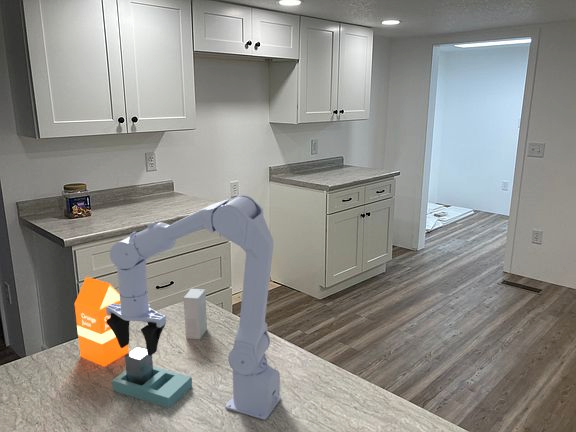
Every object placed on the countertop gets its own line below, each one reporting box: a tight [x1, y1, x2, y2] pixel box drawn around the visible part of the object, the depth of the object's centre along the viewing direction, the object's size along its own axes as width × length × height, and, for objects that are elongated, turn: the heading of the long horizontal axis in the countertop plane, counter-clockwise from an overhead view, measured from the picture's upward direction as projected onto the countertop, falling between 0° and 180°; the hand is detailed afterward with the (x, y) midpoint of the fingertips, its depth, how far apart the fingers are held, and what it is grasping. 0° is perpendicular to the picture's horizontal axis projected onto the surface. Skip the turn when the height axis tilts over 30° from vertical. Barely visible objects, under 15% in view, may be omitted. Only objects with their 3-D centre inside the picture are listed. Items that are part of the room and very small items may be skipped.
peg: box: [124, 346, 154, 386], centre depth 104 cm, size 4×4×8 cm
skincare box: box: [183, 288, 208, 340], centre depth 126 cm, size 6×4×12 cm
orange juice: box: [74, 276, 130, 367], centre depth 115 cm, size 8×9×20 cm
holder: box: [111, 365, 193, 409], centre depth 104 cm, size 15×8×2 cm, turn 67°
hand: (138, 349), depth 103 cm, fingers open, 7 cm apart
